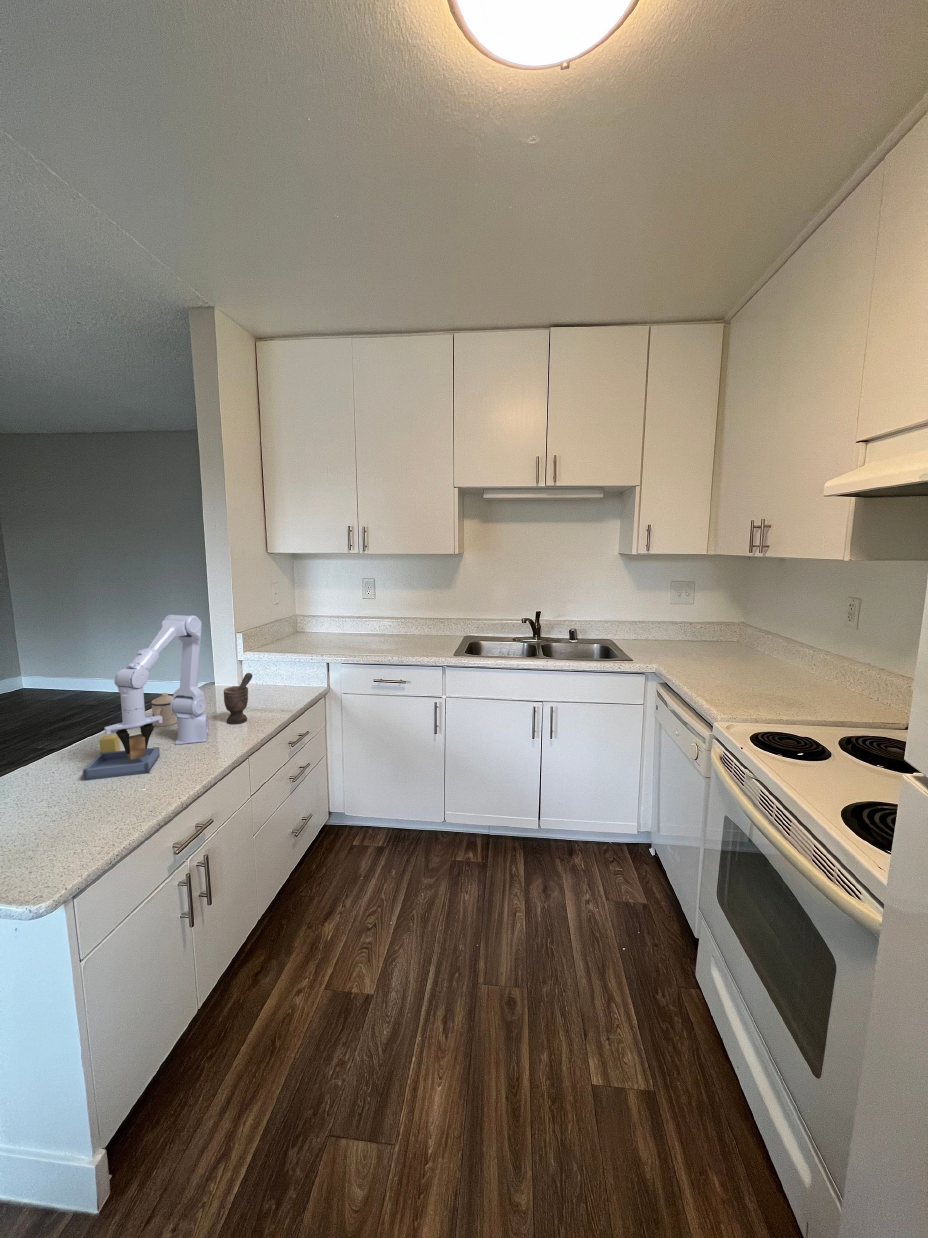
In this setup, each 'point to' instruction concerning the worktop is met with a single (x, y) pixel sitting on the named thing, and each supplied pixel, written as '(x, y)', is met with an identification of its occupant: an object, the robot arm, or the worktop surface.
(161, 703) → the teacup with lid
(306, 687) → the worktop surface
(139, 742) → the walnut block
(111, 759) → the slate blue tray
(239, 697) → the mortar and pestle
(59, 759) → the worktop surface
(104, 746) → the mustard block
